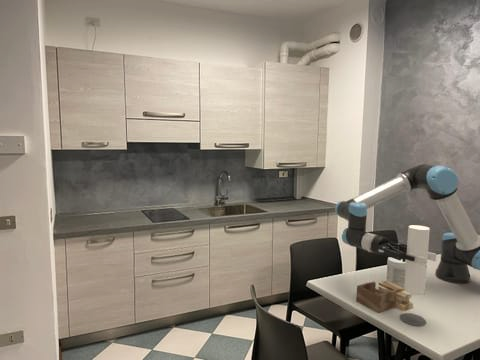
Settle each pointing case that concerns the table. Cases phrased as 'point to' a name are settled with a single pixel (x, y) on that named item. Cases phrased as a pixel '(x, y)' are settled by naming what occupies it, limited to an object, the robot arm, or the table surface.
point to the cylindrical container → (414, 271)
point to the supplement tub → (396, 271)
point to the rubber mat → (412, 319)
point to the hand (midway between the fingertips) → (429, 259)
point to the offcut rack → (383, 296)
